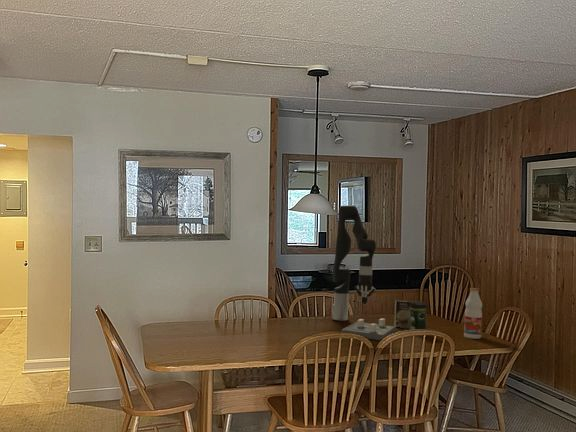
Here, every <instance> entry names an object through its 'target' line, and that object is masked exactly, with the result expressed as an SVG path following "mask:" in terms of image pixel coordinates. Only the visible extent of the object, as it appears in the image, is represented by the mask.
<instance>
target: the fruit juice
mask: <svg viewBox="0 0 576 432" xmlns="http://www.w3.org/2000/svg"><path fill="white" fill-rule="evenodd" d="M479 291H480V288H478V287H477V288H476V287H470V288H469V295H468V297H467V299H466V300H465V311H464V326H463V327H464V329H463V337H465V338H467V339H474V340H477V339H478V340H480V339H481V338H482V328H483V327H482V323H483V312H482V308H483V302H482V300H481V297H480V294H479Z"/></svg>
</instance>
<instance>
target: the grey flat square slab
mask: <svg viewBox="0 0 576 432" xmlns="http://www.w3.org/2000/svg"><path fill="white" fill-rule="evenodd" d="M370 324H371V323H368V322H364V326H363V327H357V321H355V322H354V323H353V322H352V324H349V325H347V326H346V327H344V328H342V329H341V330H340V331H341V332H350V333H356V334H359V335H362V336H364V337H366V338H365V339H369V340H370V339H371V340H376V341H382V340H381V339H383V338H384V337H385V336H387V335H389V334H391V333H393V332H394V333H396V327H395V326H394V325H385V326H383V327H380V326H379V324H377V323H375V324H376V331H375V332H369V327H370ZM394 333H393V334H394ZM391 335H392V334H391Z"/></svg>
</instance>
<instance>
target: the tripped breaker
mask: <svg viewBox="0 0 576 432" xmlns="http://www.w3.org/2000/svg"><path fill="white" fill-rule="evenodd" d="M356 322H357V327H363V326H364V323H365V318H359V319H357V320H356Z"/></svg>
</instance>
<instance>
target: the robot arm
mask: <svg viewBox="0 0 576 432" xmlns="http://www.w3.org/2000/svg"><path fill="white" fill-rule="evenodd" d="M337 215H338V217H337V233H336V244H335V256H334V263H333V269H332V281H333V282H335V283H342V284H341V285H339V286H337V287H335V288H334V290H333V292H334V295H333V304H332V314H331V315H332V318H331V320H334V321H342V322H343V321H348V320H349V319H348V318H349V295H350V294H349V291H350V281H351V280H350V278H351V272H350V271H351V270H350V269H349V268H348V267H340V266H341V264H342V263H343V260H345V258H346V257H347V256H348V254H349V253H350V251H351V249H352V248H351V247H352V238H351V236H350V234H349V232H348V230H347V228H346V221H353V222H354V223H353V226H352V233H353V235H354V237H355V240H356V245H357V250H359V251H360V252H366V254H364V255H361V256H360V257H359V270H358V284H357V285H356V286H354V290H355V292H356V293H357V294H358V296H360V297H361V303H362V304H363V305H366V304H367V303H368V298H369V297H371V296H372V295H373V294H374V293H375V292H376V290H377V289H376V288H375V287H374V286H373V258H374V254H375V252H376V248H377V244H376V241H375V240H374V239H371V238H370V239H368V238H369V236H368V233H367V231H366V229H365V228H364V224H363V222H362V219H361V216H360V214H359V210H358V208H357V207H356V205H352V204H350V205H340V207H339V208H338V214H337Z"/></svg>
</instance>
